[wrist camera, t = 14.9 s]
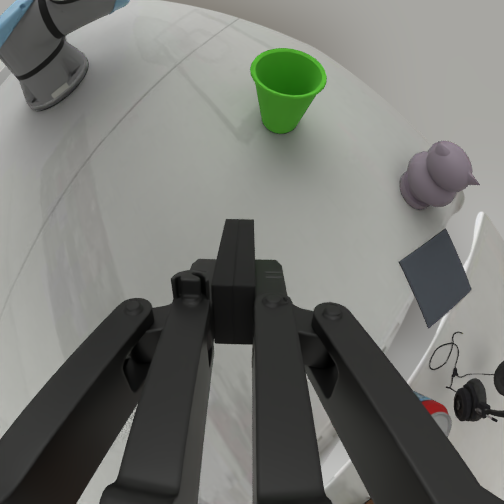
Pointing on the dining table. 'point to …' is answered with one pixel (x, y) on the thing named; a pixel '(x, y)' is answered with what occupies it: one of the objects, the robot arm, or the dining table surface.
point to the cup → (286, 86)
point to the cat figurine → (436, 176)
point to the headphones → (475, 395)
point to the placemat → (436, 277)
